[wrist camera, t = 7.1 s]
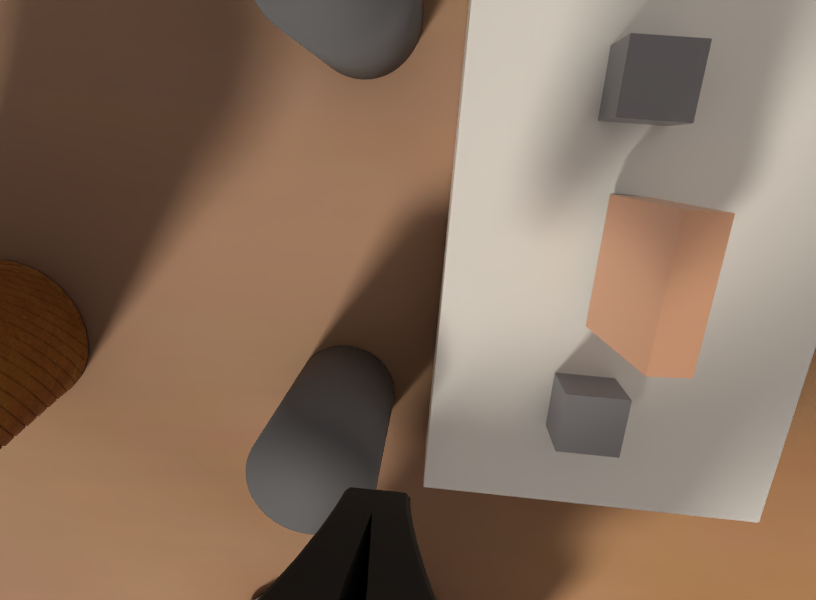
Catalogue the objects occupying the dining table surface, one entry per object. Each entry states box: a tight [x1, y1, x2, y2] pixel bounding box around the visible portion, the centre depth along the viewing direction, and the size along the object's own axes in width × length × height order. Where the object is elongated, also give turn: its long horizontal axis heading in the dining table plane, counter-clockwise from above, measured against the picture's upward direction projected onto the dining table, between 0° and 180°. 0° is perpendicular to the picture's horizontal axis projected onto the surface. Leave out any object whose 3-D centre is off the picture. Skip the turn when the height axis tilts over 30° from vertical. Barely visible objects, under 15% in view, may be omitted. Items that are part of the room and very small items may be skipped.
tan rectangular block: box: [586, 193, 735, 378], centre depth 14 cm, size 1×4×4 cm, turn 176°
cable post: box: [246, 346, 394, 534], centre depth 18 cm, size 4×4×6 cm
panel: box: [423, 0, 816, 523], centre depth 17 cm, size 12×18×5 cm, turn 176°
